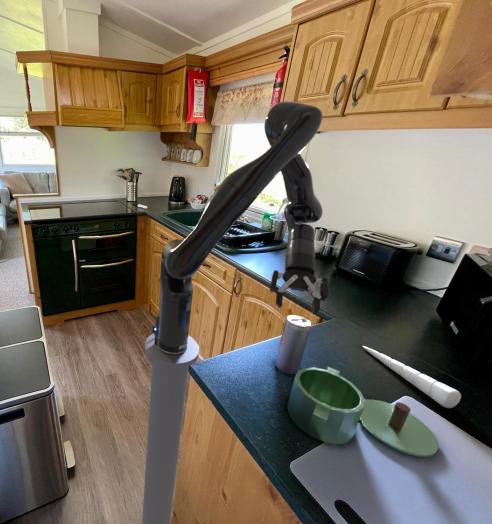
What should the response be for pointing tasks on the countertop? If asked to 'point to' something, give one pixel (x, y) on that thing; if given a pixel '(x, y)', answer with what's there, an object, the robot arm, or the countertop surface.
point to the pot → (325, 405)
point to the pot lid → (398, 428)
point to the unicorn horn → (422, 381)
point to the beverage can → (292, 344)
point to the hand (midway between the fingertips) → (297, 310)
